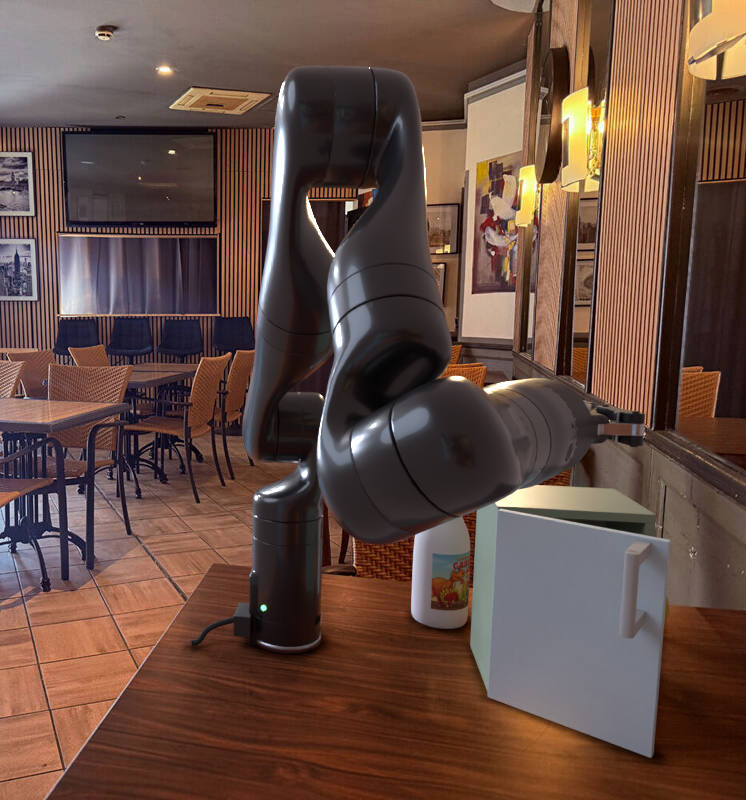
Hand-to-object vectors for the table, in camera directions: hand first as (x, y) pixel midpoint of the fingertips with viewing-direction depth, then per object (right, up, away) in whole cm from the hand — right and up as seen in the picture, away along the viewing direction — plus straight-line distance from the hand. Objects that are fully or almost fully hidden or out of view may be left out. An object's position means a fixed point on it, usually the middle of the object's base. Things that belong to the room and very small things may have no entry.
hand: (585, 413), depth 62 cm
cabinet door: (+2, -33, +9) cm, 34 cm away
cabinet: (+7, -32, +21) cm, 39 cm away
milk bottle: (-1, -31, +37) cm, 48 cm away
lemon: (+25, -31, +33) cm, 52 cm away
